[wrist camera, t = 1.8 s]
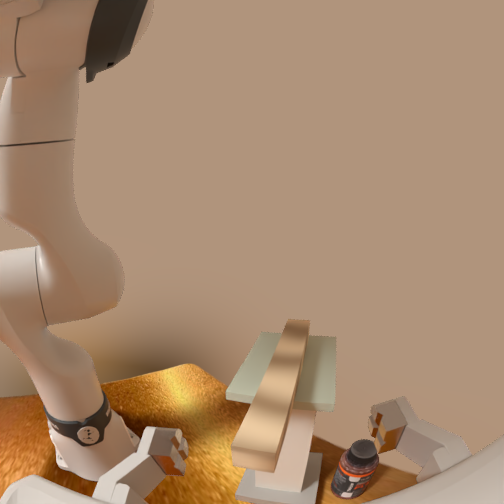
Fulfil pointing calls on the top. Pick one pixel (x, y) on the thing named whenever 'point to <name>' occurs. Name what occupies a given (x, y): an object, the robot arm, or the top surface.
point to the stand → (300, 424)
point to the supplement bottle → (355, 469)
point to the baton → (272, 403)
